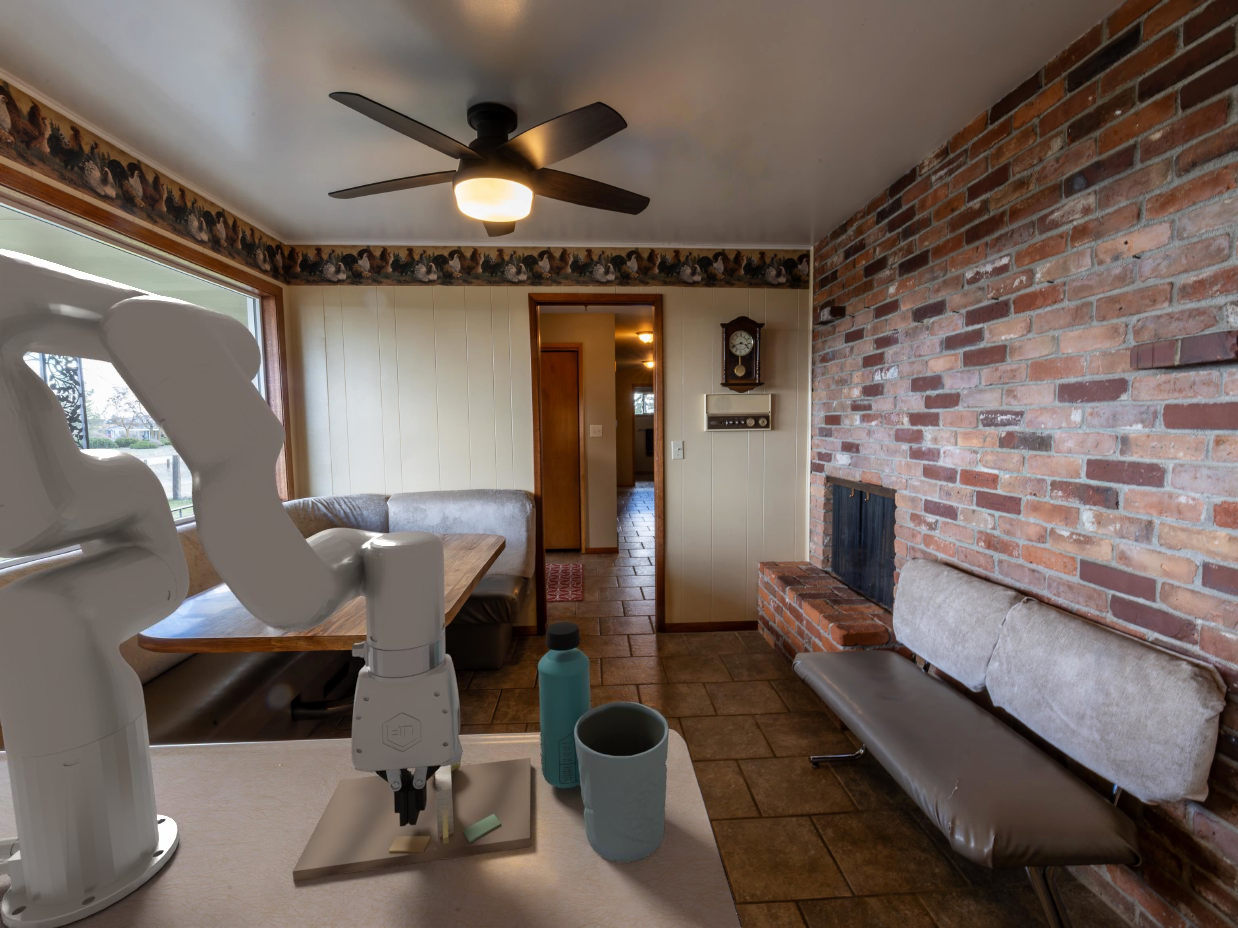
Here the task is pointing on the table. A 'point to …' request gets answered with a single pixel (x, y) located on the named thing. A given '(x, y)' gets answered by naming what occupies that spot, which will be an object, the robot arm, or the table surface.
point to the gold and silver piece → (445, 800)
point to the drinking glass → (623, 778)
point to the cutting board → (420, 822)
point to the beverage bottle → (562, 703)
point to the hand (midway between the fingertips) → (411, 815)
